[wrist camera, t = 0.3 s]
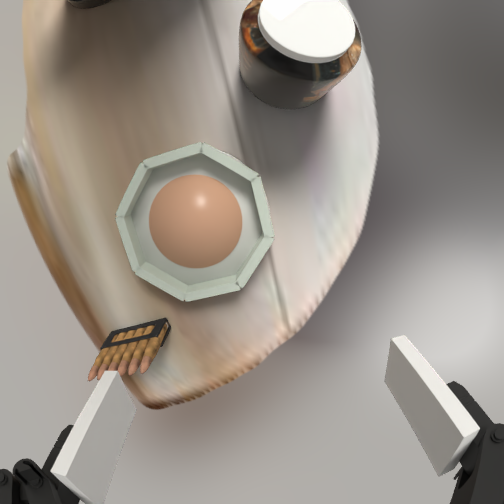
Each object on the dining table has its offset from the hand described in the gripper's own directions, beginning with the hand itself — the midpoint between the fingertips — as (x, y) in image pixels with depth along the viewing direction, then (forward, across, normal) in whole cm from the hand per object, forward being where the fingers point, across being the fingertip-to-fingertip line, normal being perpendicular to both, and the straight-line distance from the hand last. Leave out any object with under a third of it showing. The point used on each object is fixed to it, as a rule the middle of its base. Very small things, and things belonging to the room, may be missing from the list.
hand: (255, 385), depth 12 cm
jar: (+27, +8, +22) cm, 36 cm away
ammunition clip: (+28, -18, -12) cm, 35 cm away
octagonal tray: (+27, -6, +4) cm, 28 cm away
